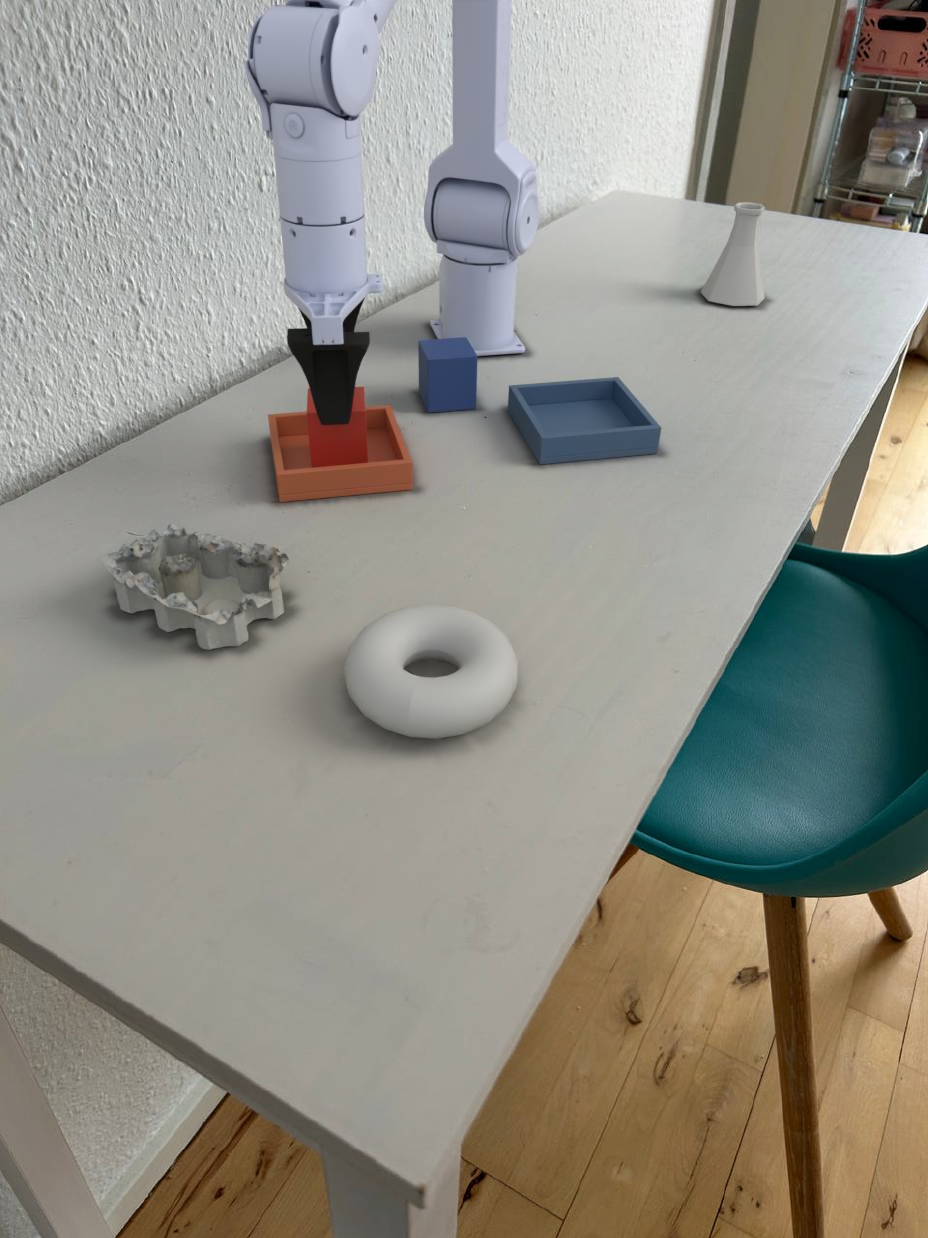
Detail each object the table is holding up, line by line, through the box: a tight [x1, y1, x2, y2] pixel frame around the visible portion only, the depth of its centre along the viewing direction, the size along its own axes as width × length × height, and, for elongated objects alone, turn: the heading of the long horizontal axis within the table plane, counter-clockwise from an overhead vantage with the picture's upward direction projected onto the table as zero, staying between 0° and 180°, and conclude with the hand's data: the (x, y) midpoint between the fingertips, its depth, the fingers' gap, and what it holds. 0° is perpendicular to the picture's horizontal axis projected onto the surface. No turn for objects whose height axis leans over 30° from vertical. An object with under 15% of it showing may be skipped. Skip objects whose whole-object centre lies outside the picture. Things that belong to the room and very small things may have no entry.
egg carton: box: [96, 522, 290, 651], centre depth 60 cm, size 11×8×4 cm
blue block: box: [417, 337, 479, 414], centre depth 85 cm, size 4×4×5 cm
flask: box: [700, 201, 766, 307], centre depth 106 cm, size 7×7×10 cm
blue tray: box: [507, 376, 662, 465], centre depth 81 cm, size 10×10×2 cm
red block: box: [306, 386, 368, 468], centre depth 75 cm, size 4×4×5 cm
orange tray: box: [267, 404, 414, 503], centre depth 76 cm, size 10×10×2 cm
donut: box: [343, 603, 519, 740], centre depth 54 cm, size 10×4×10 cm
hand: (334, 400), depth 73 cm, fingers open, 7 cm apart
